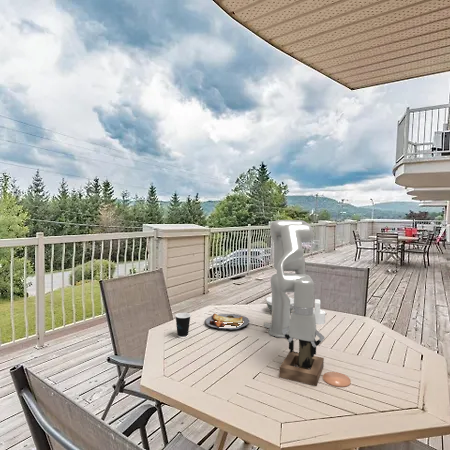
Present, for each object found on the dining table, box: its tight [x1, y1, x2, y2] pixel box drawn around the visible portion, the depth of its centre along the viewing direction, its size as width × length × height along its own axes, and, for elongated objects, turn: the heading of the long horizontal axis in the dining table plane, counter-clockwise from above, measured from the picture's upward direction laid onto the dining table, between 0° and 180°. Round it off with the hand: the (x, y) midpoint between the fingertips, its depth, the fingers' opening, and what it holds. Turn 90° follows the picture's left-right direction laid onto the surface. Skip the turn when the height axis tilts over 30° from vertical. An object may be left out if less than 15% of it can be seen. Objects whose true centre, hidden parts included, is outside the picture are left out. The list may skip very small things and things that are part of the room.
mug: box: [292, 339, 312, 370], centre depth 127 cm, size 8×6×12 cm
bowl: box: [265, 295, 294, 312], centre depth 203 cm, size 19×19×8 cm
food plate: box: [204, 313, 251, 330], centre depth 181 cm, size 25×23×4 cm
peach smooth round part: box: [322, 371, 351, 388], centre depth 121 cm, size 10×10×1 cm
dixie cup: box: [174, 312, 192, 338], centre depth 162 cm, size 8×8×11 cm
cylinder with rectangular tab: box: [313, 298, 326, 325], centre depth 186 cm, size 9×9×12 cm
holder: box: [278, 351, 325, 387], centre depth 127 cm, size 14×16×4 cm
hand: (302, 353), depth 127 cm, fingers closed on mug, 7 cm apart
